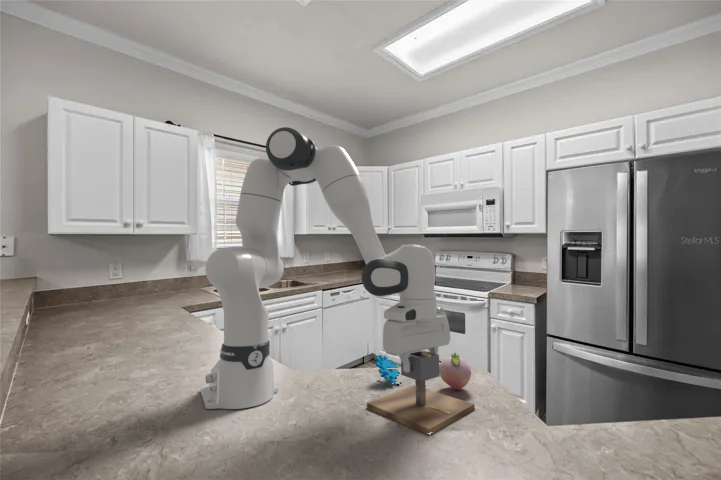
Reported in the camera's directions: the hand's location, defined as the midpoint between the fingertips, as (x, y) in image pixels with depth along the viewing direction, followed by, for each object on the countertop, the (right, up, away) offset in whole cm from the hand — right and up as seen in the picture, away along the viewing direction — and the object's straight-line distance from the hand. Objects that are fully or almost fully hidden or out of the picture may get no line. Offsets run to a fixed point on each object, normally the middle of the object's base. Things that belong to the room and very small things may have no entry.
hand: (419, 368), depth 77 cm
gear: (-6, -12, +18) cm, 22 cm away
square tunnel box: (0, -2, 0) cm, 2 cm away
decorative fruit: (+12, -11, +11) cm, 20 cm away
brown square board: (0, -9, -1) cm, 9 cm away
